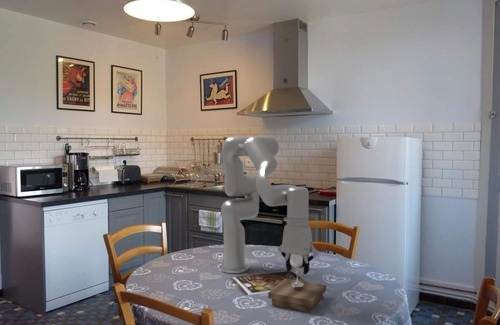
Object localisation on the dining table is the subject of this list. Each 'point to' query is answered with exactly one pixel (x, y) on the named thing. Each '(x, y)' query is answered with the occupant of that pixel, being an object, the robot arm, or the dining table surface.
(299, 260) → the wineglass
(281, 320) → the dining table surface
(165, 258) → the dining table surface
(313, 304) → the stand
